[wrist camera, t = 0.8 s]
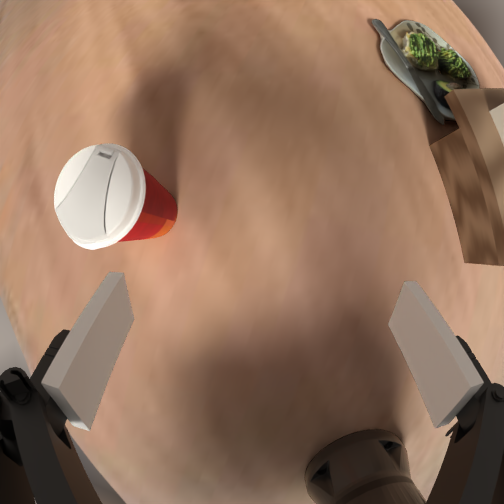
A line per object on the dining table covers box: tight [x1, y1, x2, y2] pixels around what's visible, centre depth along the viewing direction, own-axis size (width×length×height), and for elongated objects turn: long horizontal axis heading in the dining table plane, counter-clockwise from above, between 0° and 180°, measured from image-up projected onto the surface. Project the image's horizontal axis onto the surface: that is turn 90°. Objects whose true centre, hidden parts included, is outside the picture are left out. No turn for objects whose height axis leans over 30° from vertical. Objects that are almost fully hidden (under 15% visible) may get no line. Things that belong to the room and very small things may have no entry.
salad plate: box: [372, 19, 479, 125], centre depth 29 cm, size 19×18×5 cm
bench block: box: [429, 88, 504, 266], centre depth 26 cm, size 20×16×9 cm
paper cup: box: [54, 144, 177, 250], centre depth 24 cm, size 8×8×14 cm
